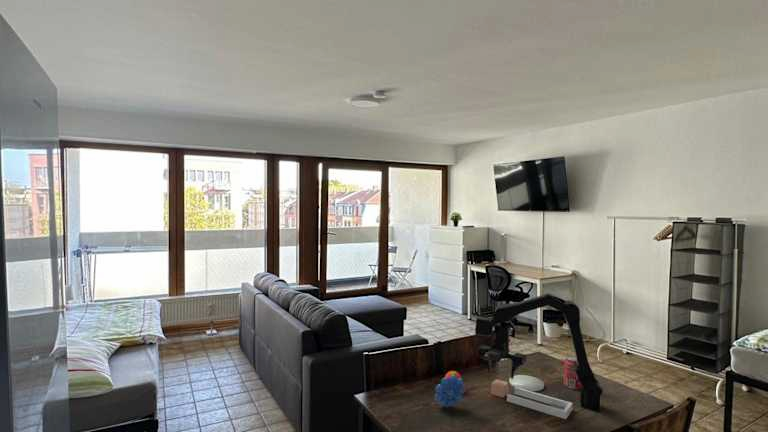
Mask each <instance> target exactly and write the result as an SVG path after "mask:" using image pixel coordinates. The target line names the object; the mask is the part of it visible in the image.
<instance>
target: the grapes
mask: <svg viewBox="0 0 768 432" xmlns="http://www.w3.org/2000/svg"><path fill="white" fill-rule="evenodd" d="M435 392H436V393H435V395H434V400H435V402H436V401H437V402H438V403H439V406H440V407H442V408H443V407H445V406H447V407H448V408H453V407H454V405H455V403H459V402H461V401H462V399H463V397H462V395H463V394H464V393H465V392H466V387H465V386H464V379H463V378H462V377H461V378H459V379H457V376H456V375H452V376H450V378H449V379H448V378H447V377H445V376H444V377H443V378H442V379H441V381H440V383H438V384H437V385H436V386H435Z"/></svg>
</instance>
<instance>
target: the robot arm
mask: <svg viewBox="0 0 768 432" xmlns="http://www.w3.org/2000/svg"><path fill="white" fill-rule="evenodd" d="M547 306H549V307H551V308H553V309H555V310H557V311H558V312H561V313H562V314H563V316H564V319H565V321H566V323H567V325H568V328H569V332H570V337H571V341H572V345H573V349H574V354H575V357H576V359H577V365H573V367H574V369H575V376H576V379H577V381H578V382H580V384H581V386H582V387H581V391H580V399H579V403H580V407H581V408H584V409H588V410H590V411H595V412H601V409H602V407H603V402H602V399H603V397H602V396H603V395H602V394H603V392H604V390H603V388H602V386H601V384H600V382H599V380H598V379H597V378H596V376H595V374H594V372H593V370H592V368H591V367H592V366H591V365H590V362H589V360H588V356H587V352H586V347H585V343H584V338H583V334H582V331H581V326H580V325H581V312H580V308H579V306H578V305H577V304H576V302H574V301H573V300H570V299H569V300H568V299H567V300H565V299H563V298H561V297H559V296H556V295H553V294H552V293H548V292H547V293H544V294H541V295H539V296H535V297H532V298H529V299H526V300H522V301H518V302H515V303H504V304H498V305H497V306H496V307H495V309H494V313H493V314H492V315H491V317H490V318H482V317H476V320H475V322H476V323H475V327H474V328H475V329H474V330H475V331H474V333H475V336H483V337H490V336H491V335H493V334H494V335H493V338H494V339H493V340H492V345H491V346H489V345H484V344H482V345H481V346H479V347H478V348H477V350H476V355H478V356H479V358H481V359H482V360H483V361H484V363H485V365H486V367H487V370H488V373H489V374H491V373H492V368H493V365H492V364H493V363H492V362H493V361H494V362H498V363H499V362H501V361H502V360H506V359H508V360H510V361H511V364H510V365H511V372H510V377H511V379H513V378H514V376H515V375H516V373H517V371H518V368H519V367H521V366H523V365H524V364H525V363H527V362H528V360H527V359H528V357H527V355H526V354H524V353H520V352H516V353H515V354H512V353H510V352H511V349H510V343H511V339H510V329H514V328H515V324H514V323H513V322H512V321H511V319H514V318H515V317H516V316H518V315H520V314H523V313H526V312H530V311H533V310H536V309H540V308H543V307H547ZM493 328H494V329H493ZM493 332H494V333H493Z"/></svg>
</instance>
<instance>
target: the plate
mask: <svg viewBox="0 0 768 432" xmlns="http://www.w3.org/2000/svg"><path fill="white" fill-rule="evenodd" d="M508 384H509V385H510V386H511V387H513V388H515V387H517V388H521V389H525V390H528V391H532V392H540V391H542V390H543V389H545V382H544V381H543V380H541V379H540V378H537V377H535V376H531V375H525V374H515V375H514V378H513V379H511V376H510V377H509V380H508Z"/></svg>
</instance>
